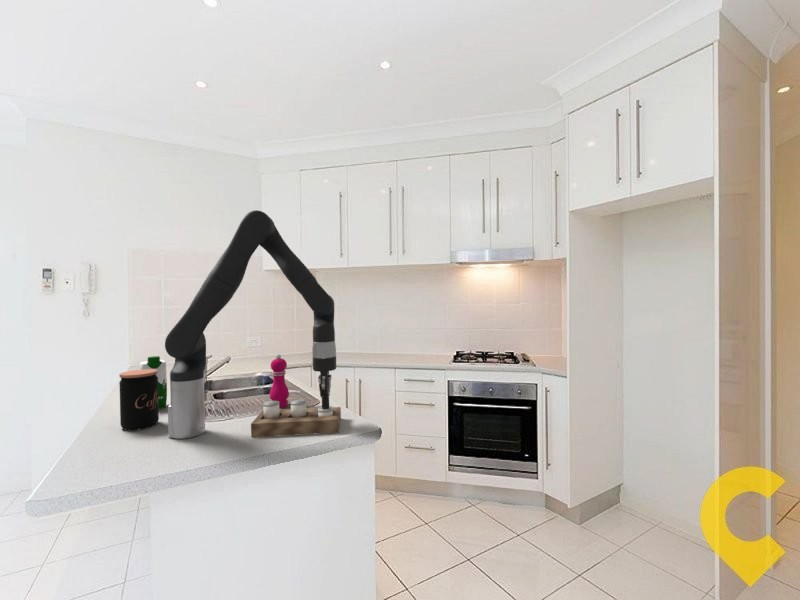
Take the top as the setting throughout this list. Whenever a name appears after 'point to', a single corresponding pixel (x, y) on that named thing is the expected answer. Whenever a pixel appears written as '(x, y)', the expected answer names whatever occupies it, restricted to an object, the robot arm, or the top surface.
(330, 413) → the knob
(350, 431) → the top surface
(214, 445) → the top surface
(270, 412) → the knob
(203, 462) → the top surface
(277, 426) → the control board
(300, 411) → the middle knob
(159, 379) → the milk carton
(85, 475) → the top surface
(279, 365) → the pepper mill
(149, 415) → the coffee jar
